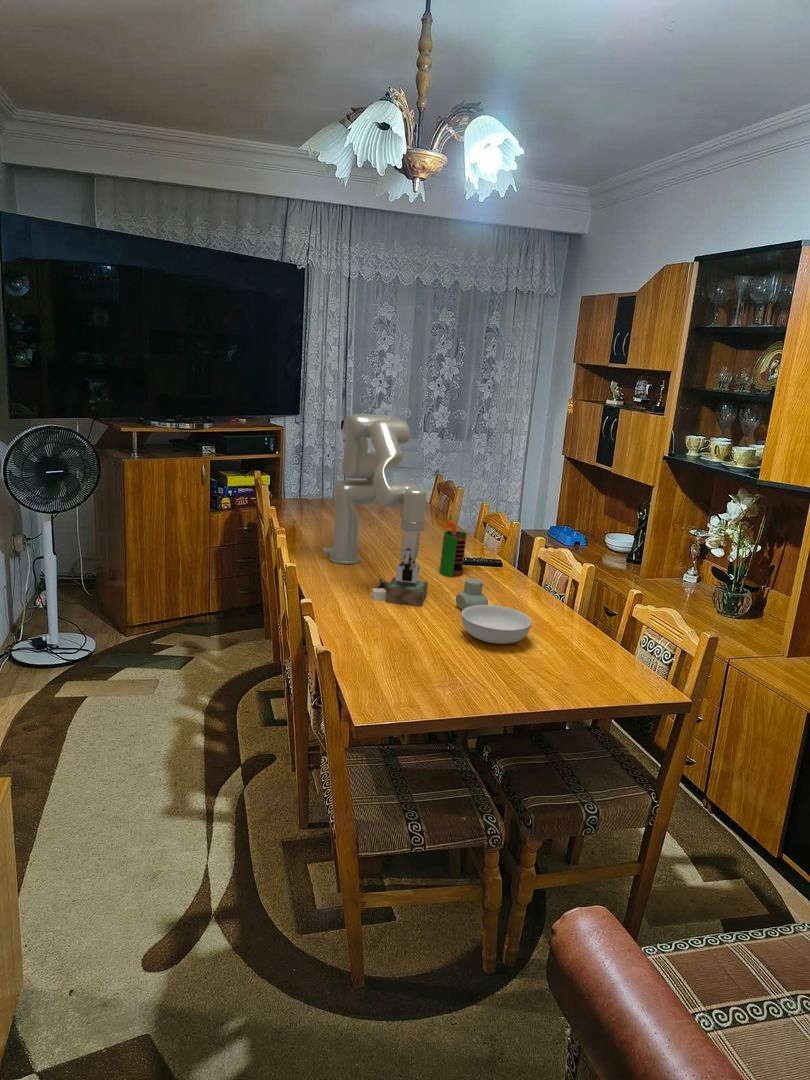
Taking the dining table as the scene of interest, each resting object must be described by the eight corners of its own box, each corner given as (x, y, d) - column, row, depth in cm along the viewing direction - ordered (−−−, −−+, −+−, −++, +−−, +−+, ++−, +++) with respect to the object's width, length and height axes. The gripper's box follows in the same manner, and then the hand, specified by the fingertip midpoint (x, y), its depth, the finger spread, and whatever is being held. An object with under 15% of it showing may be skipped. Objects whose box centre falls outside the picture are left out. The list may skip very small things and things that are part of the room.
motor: (461, 578, 279) (466, 526, 274) (437, 575, 281) (442, 523, 276) (464, 571, 289) (469, 521, 284) (441, 568, 290) (446, 518, 286)
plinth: (385, 602, 246) (386, 586, 245) (392, 591, 258) (393, 576, 256) (421, 606, 244) (422, 591, 243) (426, 595, 256) (427, 581, 255)
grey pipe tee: (452, 604, 249) (455, 576, 247) (474, 603, 252) (477, 575, 250) (467, 616, 239) (470, 586, 237) (489, 614, 243) (493, 585, 240)
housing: (395, 580, 248) (396, 563, 246) (398, 576, 252) (399, 559, 251) (416, 583, 247) (417, 565, 245) (418, 579, 251) (420, 562, 250)
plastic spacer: (373, 600, 247) (374, 592, 246) (371, 596, 251) (372, 588, 250) (385, 600, 248) (386, 592, 247) (383, 596, 252) (383, 588, 251)
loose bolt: (378, 587, 261) (379, 580, 260) (380, 585, 264) (380, 578, 263) (395, 589, 260) (395, 582, 260) (396, 587, 263) (397, 580, 262)
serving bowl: (484, 655, 209) (487, 632, 207) (446, 629, 226) (448, 607, 225) (543, 647, 218) (546, 625, 217) (502, 622, 236) (505, 602, 235)
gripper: (405, 519, 254) (401, 570, 258) (396, 529, 237) (392, 584, 242) (427, 521, 252) (422, 573, 257) (419, 532, 236) (415, 587, 241)
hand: (408, 577), depth 249 cm, fingers closed on housing, 5 cm apart
